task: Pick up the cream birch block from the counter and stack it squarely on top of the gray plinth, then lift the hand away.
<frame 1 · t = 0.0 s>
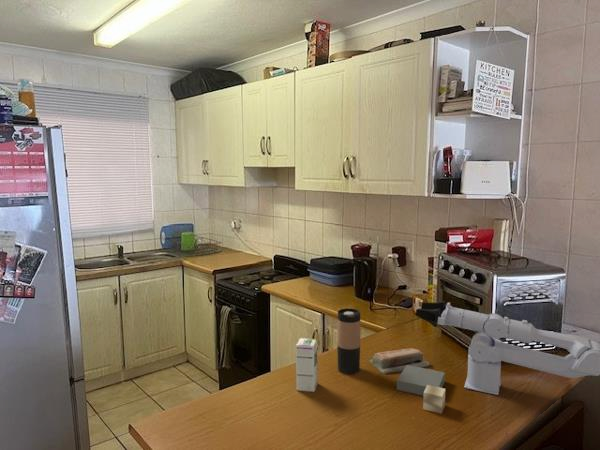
hand: (418, 308, 139), 22 cm above the countertop, tool horizontal, fingers open, 7 cm apart
packaged product: (399, 365, 149), on the countertop
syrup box: (307, 387, 133), on the countertop
travel mug: (348, 370, 144), on the countertop
gray plinth: (421, 385, 133), on the countertop
birch block: (434, 407, 121), on the countertop
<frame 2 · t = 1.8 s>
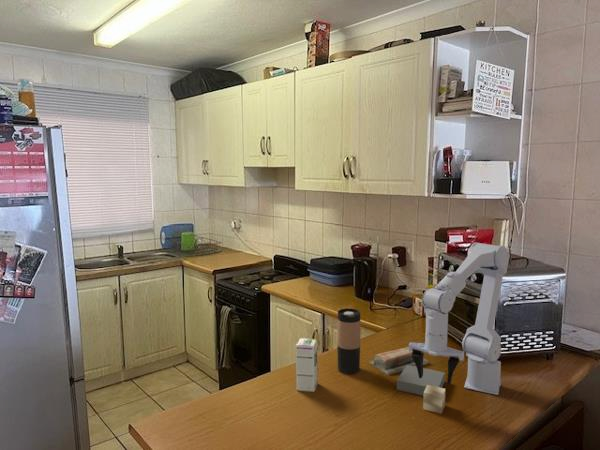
hand: (434, 379, 120), 8 cm above the countertop, tool pointing down, fingers open, 7 cm apart
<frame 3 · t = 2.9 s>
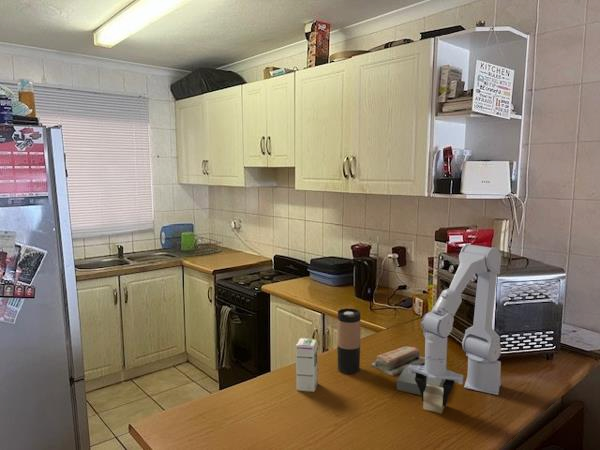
hand: (434, 402, 121), 1 cm above the countertop, tool pointing down, fingers closed on birch block, 5 cm apart
birch block: (434, 407, 121), on the countertop, touching gripper
when the fingers open (6 cm above the countertop, at t = 6.2 s): birch block drops 1 cm, resting on gray plinth.
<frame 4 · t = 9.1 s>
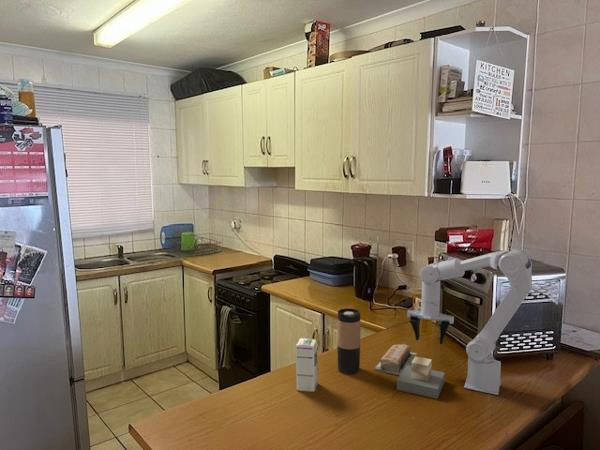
hand: (429, 341, 142), 10 cm above the countertop, tool pointing down, fingers open, 7 cm apart
birch block: (421, 376, 133), point 3 cm above the countertop, touching gray plinth
at the end: birch block inside the target area on the gray plinth (0.2 cm from its centre), point 3.0 cm above the gray plinth's base; birch block tilted 0°; the gripper is holding nothing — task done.
